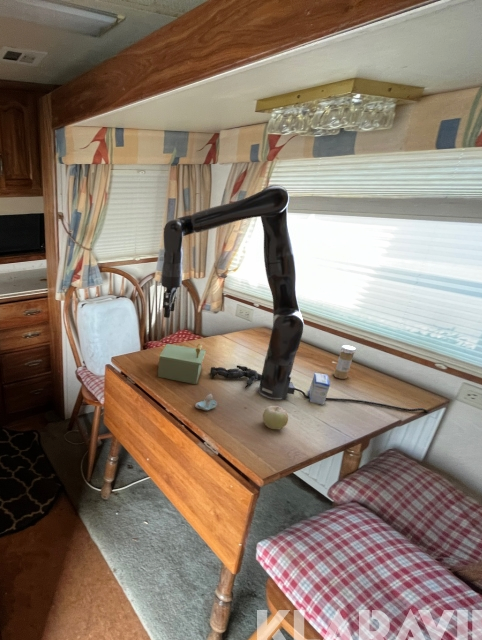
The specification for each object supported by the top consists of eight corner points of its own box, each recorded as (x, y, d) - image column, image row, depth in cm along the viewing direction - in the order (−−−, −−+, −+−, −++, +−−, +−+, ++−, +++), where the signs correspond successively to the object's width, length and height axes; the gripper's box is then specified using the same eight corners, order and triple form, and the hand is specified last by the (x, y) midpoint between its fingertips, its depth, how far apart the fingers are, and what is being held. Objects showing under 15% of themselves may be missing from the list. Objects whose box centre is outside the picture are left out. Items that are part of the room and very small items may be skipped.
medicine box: (308, 391, 137) (314, 372, 134) (322, 394, 135) (328, 374, 132) (309, 402, 131) (315, 381, 127) (324, 405, 129) (330, 384, 125)
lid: (205, 351, 150) (207, 340, 149) (200, 365, 139) (202, 353, 137) (166, 345, 157) (167, 334, 155) (159, 357, 146) (160, 346, 144)
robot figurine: (213, 388, 141) (268, 392, 137) (214, 378, 140) (270, 381, 136) (208, 367, 157) (257, 370, 153) (209, 358, 156) (258, 361, 152)
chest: (201, 369, 154) (203, 351, 151) (196, 384, 143) (198, 365, 139) (165, 363, 160) (166, 345, 157) (157, 376, 149) (159, 357, 146)
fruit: (288, 435, 114) (293, 414, 111) (262, 431, 116) (267, 410, 112) (282, 421, 120) (287, 401, 117) (258, 417, 122) (263, 397, 119)
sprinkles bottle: (345, 375, 149) (355, 346, 143) (347, 380, 145) (356, 350, 140) (332, 373, 151) (341, 344, 145) (333, 377, 147) (342, 348, 142)
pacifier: (191, 406, 129) (203, 414, 124) (192, 391, 127) (205, 399, 122) (205, 400, 132) (218, 408, 127) (207, 386, 130) (220, 393, 125)
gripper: (178, 278, 129) (175, 321, 135) (185, 270, 141) (182, 309, 147) (157, 277, 132) (155, 318, 138) (166, 269, 144) (163, 307, 150)
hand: (169, 314), depth 142 cm, fingers open, 8 cm apart
